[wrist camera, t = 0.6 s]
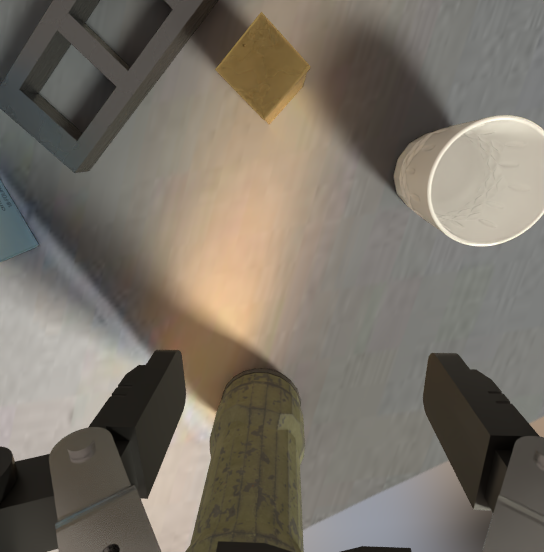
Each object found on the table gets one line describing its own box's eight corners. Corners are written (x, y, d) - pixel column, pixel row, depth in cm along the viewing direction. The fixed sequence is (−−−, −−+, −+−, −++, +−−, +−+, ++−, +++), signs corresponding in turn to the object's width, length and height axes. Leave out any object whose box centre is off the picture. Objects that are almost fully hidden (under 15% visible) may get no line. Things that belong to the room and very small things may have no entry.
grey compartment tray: (190, -175, 25) (181, -207, 23) (275, -75, 27) (273, -95, 25) (12, 103, 32) (-10, 100, 29) (88, 171, 33) (74, 172, 31)
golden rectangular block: (267, 46, 30) (261, 11, 22) (304, 86, 30) (310, 66, 23) (232, 88, 31) (215, 69, 23) (269, 126, 32) (263, 120, 24)
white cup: (428, 104, 31) (492, 85, 21) (498, 160, 32) (588, 167, 22) (368, 185, 33) (400, 201, 23) (435, 235, 34) (492, 268, 25)
